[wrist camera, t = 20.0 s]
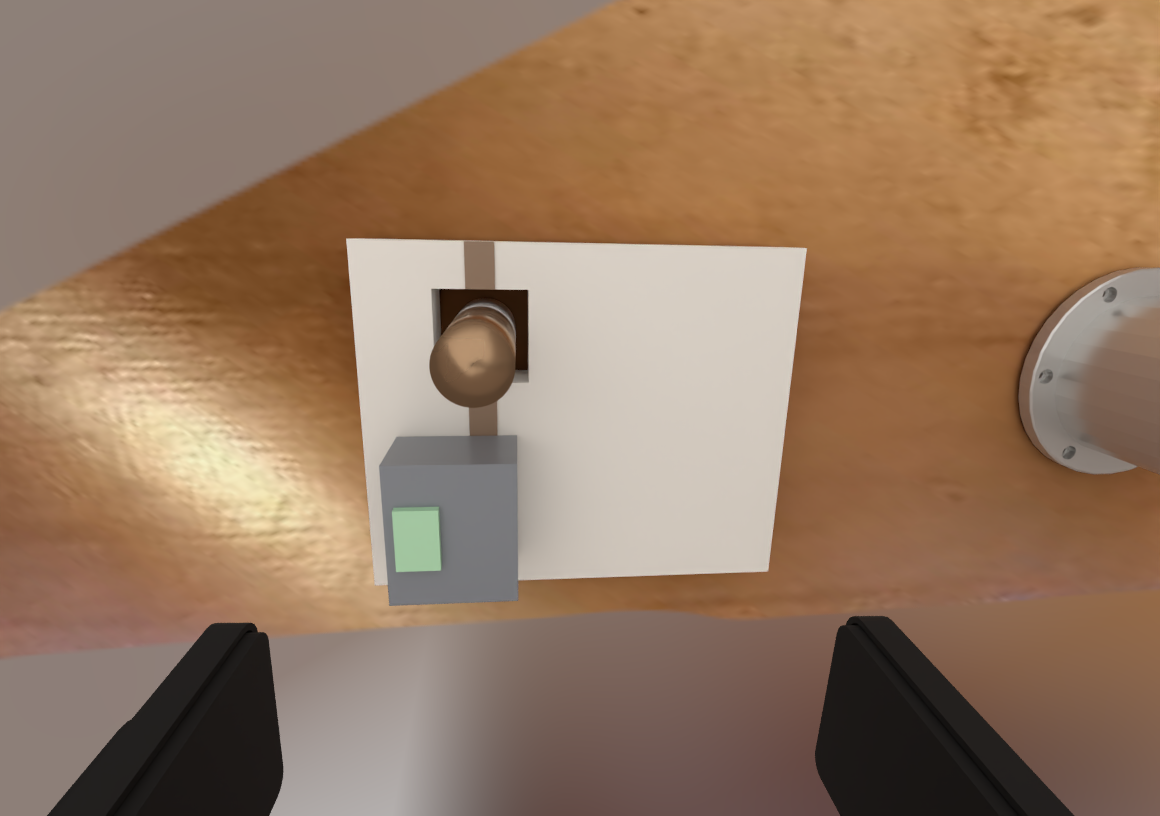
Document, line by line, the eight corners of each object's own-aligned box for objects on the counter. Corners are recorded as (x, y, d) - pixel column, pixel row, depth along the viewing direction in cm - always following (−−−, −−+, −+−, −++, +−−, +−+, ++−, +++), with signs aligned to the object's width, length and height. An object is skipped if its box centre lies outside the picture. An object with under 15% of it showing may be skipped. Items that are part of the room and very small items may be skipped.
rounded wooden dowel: (515, 298, 32) (514, 325, 22) (516, 357, 33) (515, 407, 23) (454, 297, 32) (427, 324, 22) (456, 357, 33) (431, 408, 23)
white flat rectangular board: (781, 247, 33) (807, 248, 30) (748, 545, 38) (768, 572, 35) (362, 238, 30) (345, 238, 27) (386, 556, 35) (374, 586, 32)
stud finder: (517, 435, 31) (517, 467, 27) (518, 557, 33) (518, 605, 28) (396, 436, 30) (376, 469, 26) (404, 561, 32) (387, 610, 28)
